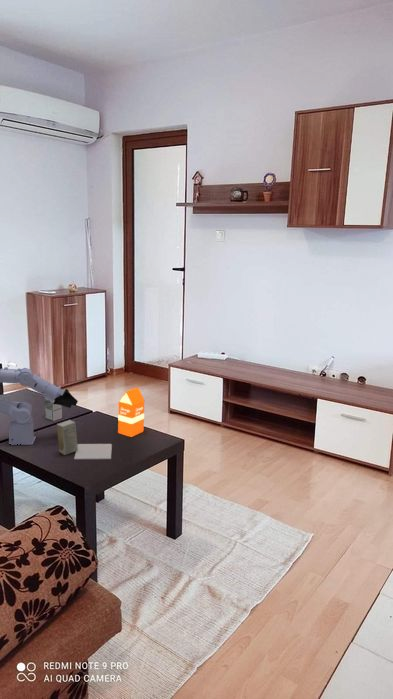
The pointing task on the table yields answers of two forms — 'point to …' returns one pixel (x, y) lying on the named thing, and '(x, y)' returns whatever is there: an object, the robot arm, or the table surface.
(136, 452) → the table surface
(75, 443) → the skincare box
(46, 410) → the syrup box
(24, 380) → the robot arm
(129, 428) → the orange juice
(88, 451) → the mat
